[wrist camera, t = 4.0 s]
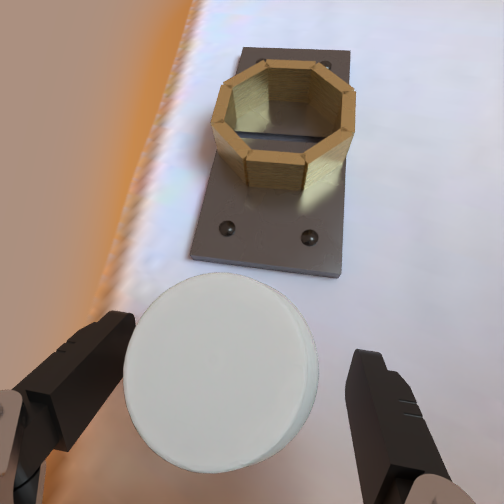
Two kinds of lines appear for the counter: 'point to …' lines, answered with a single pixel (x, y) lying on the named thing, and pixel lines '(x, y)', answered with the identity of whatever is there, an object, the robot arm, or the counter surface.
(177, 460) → the pill bottle
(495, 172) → the counter surface
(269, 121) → the octagonal bottle holder
